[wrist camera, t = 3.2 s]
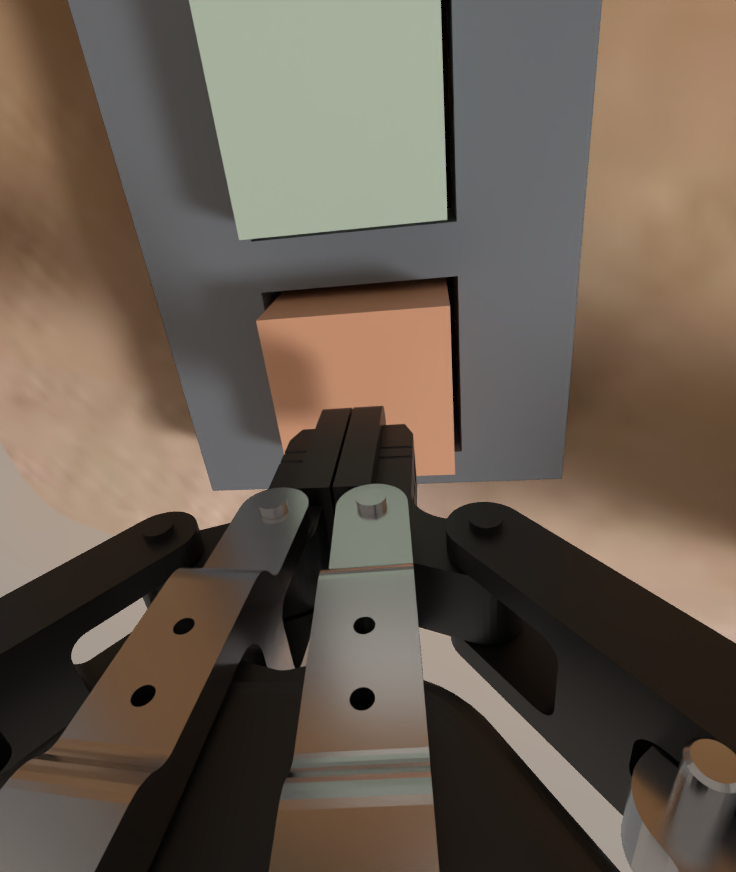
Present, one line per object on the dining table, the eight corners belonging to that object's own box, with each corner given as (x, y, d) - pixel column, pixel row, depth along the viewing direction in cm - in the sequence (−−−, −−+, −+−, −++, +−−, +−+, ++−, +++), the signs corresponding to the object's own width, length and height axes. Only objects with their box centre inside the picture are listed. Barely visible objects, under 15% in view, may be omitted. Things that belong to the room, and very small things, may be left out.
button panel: (5, -462, 11) (-125, -648, 8) (610, -643, 9) (681, -938, 7) (238, 448, 22) (212, 490, 19) (543, 434, 20) (562, 478, 17)
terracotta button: (284, 290, 17) (255, 320, 14) (445, 276, 16) (450, 305, 13) (308, 430, 19) (289, 480, 16) (450, 423, 18) (455, 474, 16)
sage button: (233, 8, 13) (183, -26, 10) (435, -23, 13) (438, -69, 10) (272, 222, 16) (239, 240, 13) (443, 204, 15) (447, 219, 12)
